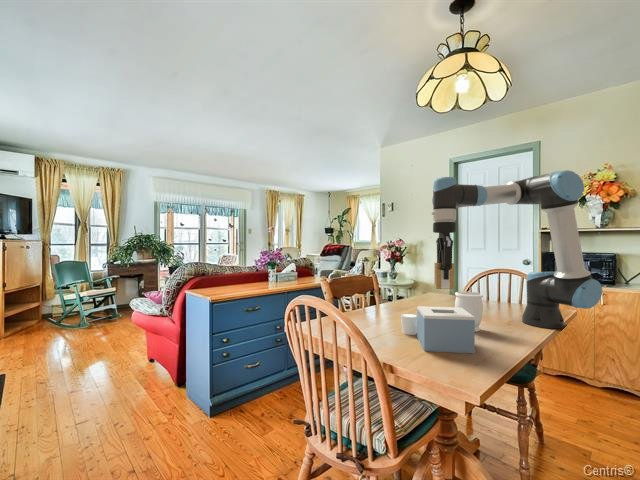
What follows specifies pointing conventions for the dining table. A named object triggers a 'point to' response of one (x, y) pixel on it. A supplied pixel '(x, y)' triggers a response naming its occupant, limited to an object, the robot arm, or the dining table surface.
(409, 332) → the white cylinder
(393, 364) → the dining table surface
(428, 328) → the box
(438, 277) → the wooden rectangular block
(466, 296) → the jar
